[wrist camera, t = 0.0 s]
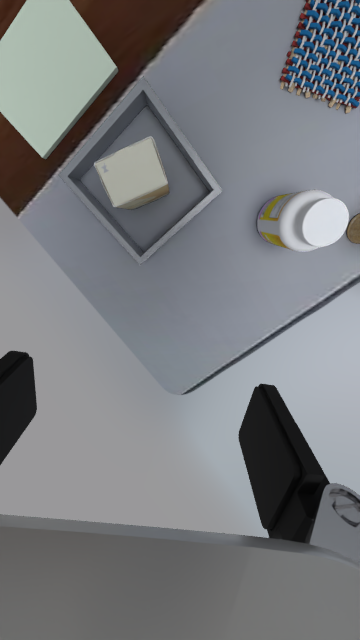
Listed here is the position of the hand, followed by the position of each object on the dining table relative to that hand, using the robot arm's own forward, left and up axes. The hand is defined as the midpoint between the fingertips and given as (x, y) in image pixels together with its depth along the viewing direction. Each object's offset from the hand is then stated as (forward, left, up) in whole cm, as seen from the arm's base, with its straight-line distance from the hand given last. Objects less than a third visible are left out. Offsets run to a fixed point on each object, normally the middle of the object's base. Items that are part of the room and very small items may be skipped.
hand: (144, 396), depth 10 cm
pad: (-3, -26, -31) cm, 41 cm away
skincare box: (-4, -10, -31) cm, 33 cm away
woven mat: (-31, -6, -32) cm, 45 cm away
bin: (-4, -10, -31) cm, 33 cm away
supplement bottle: (-16, +6, -31) cm, 36 cm away
